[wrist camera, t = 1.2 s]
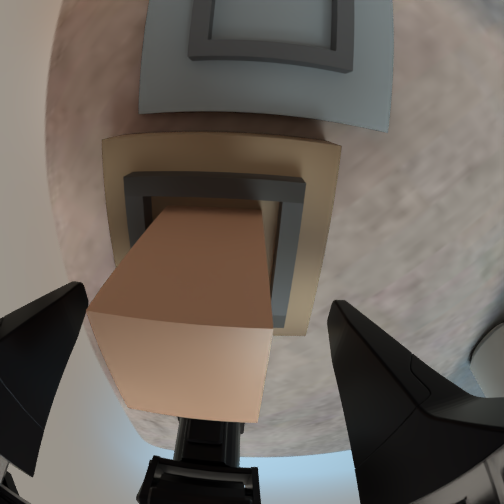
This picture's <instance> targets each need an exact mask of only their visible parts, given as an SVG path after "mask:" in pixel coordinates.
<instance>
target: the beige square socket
mask: <svg viewBox="0 0 504 504" xmlns="http://www.w3.org/2000/svg"><path fill="white" fill-rule="evenodd" d="M341 147H342V146H340V145H337V144H334V143H331V142H328V141H325V140H317V139H310V138H301V137H292V136H282V135H271V134H257V133H240V132H156V133H138V134H125V135H120V136H116V137H111V138H107V139H103V140H102V158H103V175H104V187H105V197H106V207H107V215H108V223H109V230H110V236H111V243H112V249H113V255H114V260H115V265H116V267H117V266H118V265H119V264H120V262H121V261H122V260H123V258H124V257H125V256H126V254H127V253H128V252H129V251H130V249H131V248H132V247H133V246H134V244H135V243H136V242H137V241H138V239H139V238H140V237H141V236H142V234H143V233H144V232H145V231H146V230H147V228H148V227H149V226H150V225H151V224H152V222H153V221H154V220H155V219H156V218H157V217H158V215H159V214H160V213H161V212H162V211H163V210H164V208H165V207H166V206H196V207H220V208H240V209H257V210H262V217H263V227H264V237H265V246H266V256H267V266H268V276H269V286H270V297H271V307H272V318H273V336H306V332H307V328H308V324H309V320H310V316H311V312H312V308H313V303H314V299H315V295H316V290H317V286H318V281H319V277H320V272H321V267H322V263H323V258H324V253H325V248H326V242H327V237H328V232H329V226H330V221H331V215H332V209H333V203H334V197H335V191H336V184H337V177H338V170H339V163H340V155H341Z"/></svg>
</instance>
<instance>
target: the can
mask: <svg viewBox="0 0 504 504" xmlns="http://www.w3.org/2000/svg"><path fill="white" fill-rule="evenodd" d="M470 370H471V372H472V373H473V375H474V377H475V379H476V380H477V382H478V384H479V386H480V387H481V389H482V391H483V393H484V395H485V397H486V398H493V397H504V323H501V324H499V325H497V326H496V327H495V328H493V329H492V330H491V331H490V332H489V333H488V334H487V335H486V336H485V337H484V338H483V339H482V340H481V341H480V343H479V344H478V346H477V347H476V349H475V350H474V353H473V355H472V360H471V364H470Z"/></svg>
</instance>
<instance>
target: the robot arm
mask: <svg viewBox="0 0 504 504" xmlns="http://www.w3.org/2000/svg"><path fill="white" fill-rule="evenodd" d="M87 308H88V298H87V294H86V291H85V287H84V285H83V283H81V282H75V281H73V282H71V283H68V284H66V285H64V286H62V287H60V288H58V289H56V290H54V291H52V292H50V293H48V294H46V295H44V296H42V297H40V298H39V299H36V300H35V301H32V302H31V303H29V304H27V305H25V306H23V307H21V308H19V309H17V310H15V311H13V312H12V313H10V314H8V315H6V316H5V317H2V318H0V504H31V503H29V502H27V501H26V500H24V499H23V498H21V497H20V496H19V494H18V491H17V489H16V486H15V484H14V481H13V478H12V476H11V474H10V473H9V472H7V468H8V465H9V463H10V464H12V465H13V466H15V467H16V468H18V469H19V470H21V471H23V472H24V473H26V474H28V475H29V476H31V477H33V475H34V472H35V467H36V462H37V457H38V453H39V449H40V445H41V441H42V437H43V433H44V429H45V426H46V422H47V419H48V416H49V412H50V409H51V406H52V403H53V400H54V397H55V394H56V391H57V389H58V386H59V383H60V380H61V378H62V375H63V372H64V369H65V367H66V364H67V362H68V359H69V357H70V354H71V352H72V350H73V347H74V345H75V343H76V340H77V337H78V335H79V331H80V329H81V325H82V323H83V320H84V317H85V314H86V309H87ZM327 326H328V334H329V341H330V350H331V358H332V364H333V368H334V372H335V376H336V381H337V385H338V389H339V394H340V398H341V402H342V407H343V412H344V416H345V421H346V426H347V431H348V435H349V440H350V446H351V451H352V456H353V461H354V466H355V468H356V469H355V473H356V479H357V485H358V491H359V497H360V503H361V504H504V397H493V398H482V397H476V396H473V395H471V394H469V393H467V392H465V391H464V390H463V389H461V388H460V387H458V386H457V385H455V384H454V383H452V382H451V381H449V380H448V379H446V378H445V377H443V376H442V375H440V374H439V373H438V372H436V371H435V370H433V369H432V368H430V367H429V366H428V365H427V364H425V363H424V362H423V361H421V360H420V359H419V358H418V357H416V356H415V355H414V354H412V353H411V352H410V351H409V350H408V349H406V348H405V347H404V346H403V345H401V344H400V343H399V342H398V341H396V340H395V339H394V338H393V337H391V336H390V335H389V334H388V333H386V332H385V331H384V330H382V329H381V328H380V327H379V326H377V325H376V324H375V323H374V322H372V321H371V320H370V319H368V318H367V317H366V316H365V315H363V314H362V313H361V312H360V311H358V310H357V309H356V308H354V307H353V306H352V305H351V304H349V303H348V302H347V301H345V300H334V301H333V303H332V305H331V309H330V312H329V316H328V320H327ZM178 420H179V427H178V433H177V439H176V445H175V451H174V457H173V460H170V459H166V458H161V457H160V456H155V455H154V456H153V458H152V460H150V461H149V466H148V470H147V472H146V475H145V479H144V482H143V484H142V486H141V488H140V490H139V492H138V494H137V497H136V500H137V501H138V503H139V504H261V499H260V489H259V476H258V468H257V467H251V468H241V467H239V461H240V434H243V433H244V424H245V422H226V421H213V420H202V419H193V418H185V417H178ZM244 485H245V488H244Z"/></svg>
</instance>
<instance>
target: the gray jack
mask: <svg viewBox="0 0 504 504" xmlns="http://www.w3.org/2000/svg"><path fill="white" fill-rule="evenodd" d="M393 54H394V30H393V4H392V0H149V6H148V12H147V18H146V25H145V33H144V41H143V50H142V60H141V73H140V88H139V114H150V113H165V112H197V111H214V112H246V113H262V114H274V115H285V116H294V117H303V118H310V119H317V120H324V121H330V122H337V123H342V124H348V125H353V126H358V127H363V128H368V129H372V130H377V131H381V132H386V133H388V127H389V118H390V108H391V96H392V81H393Z"/></svg>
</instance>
